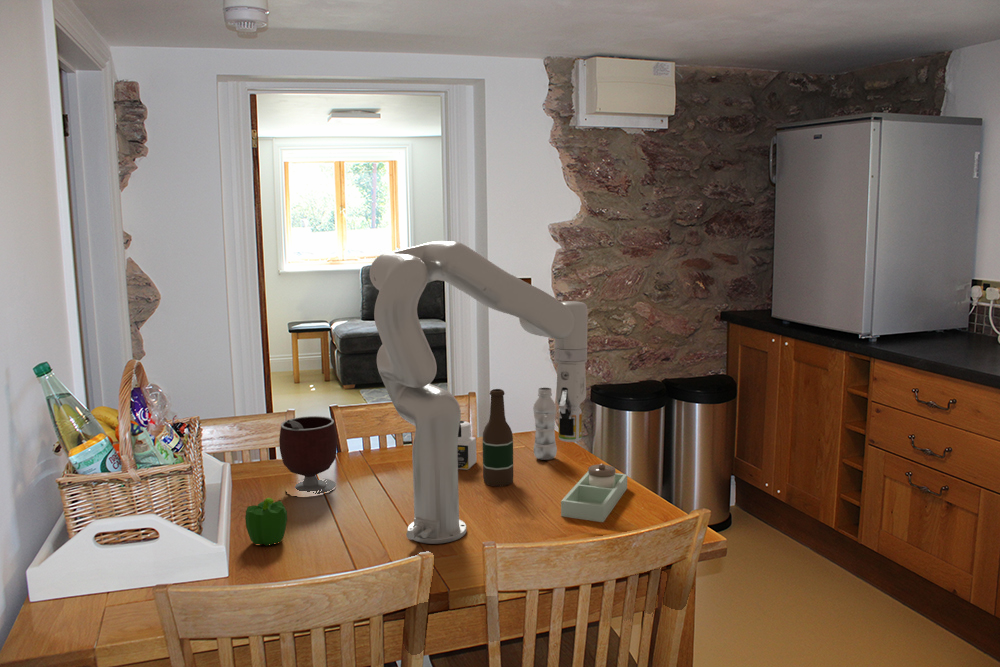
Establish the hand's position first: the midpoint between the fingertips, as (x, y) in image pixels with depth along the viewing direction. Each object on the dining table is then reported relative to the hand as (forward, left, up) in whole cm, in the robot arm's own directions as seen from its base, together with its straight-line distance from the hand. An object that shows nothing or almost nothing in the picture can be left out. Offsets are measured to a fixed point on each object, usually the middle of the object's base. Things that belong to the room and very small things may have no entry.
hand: (569, 430), depth 176 cm
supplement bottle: (0, 0, -2) cm, 2 cm away
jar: (+5, -7, -16) cm, 18 cm away
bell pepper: (-45, +52, -17) cm, 71 cm away
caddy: (-1, -7, -17) cm, 18 cm away
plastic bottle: (+28, +16, -17) cm, 37 cm away
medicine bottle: (+15, +36, -17) cm, 43 cm away
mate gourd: (-16, +63, -17) cm, 67 cm away
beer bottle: (+6, +21, -17) cm, 28 cm away
